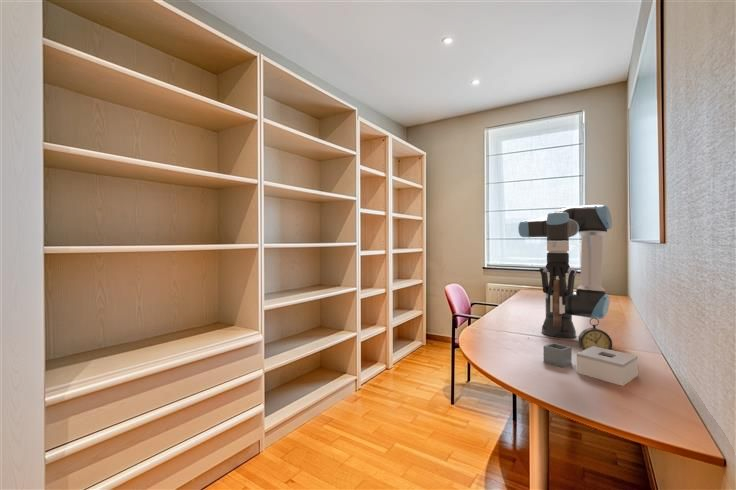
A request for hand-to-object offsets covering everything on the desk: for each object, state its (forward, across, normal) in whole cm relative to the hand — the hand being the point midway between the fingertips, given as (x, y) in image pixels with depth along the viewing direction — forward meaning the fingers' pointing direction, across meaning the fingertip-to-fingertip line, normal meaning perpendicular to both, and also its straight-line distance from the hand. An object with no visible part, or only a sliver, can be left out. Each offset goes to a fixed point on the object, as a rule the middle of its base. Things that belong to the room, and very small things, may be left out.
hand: (557, 312), depth 133 cm
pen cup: (+20, 0, 0) cm, 20 cm away
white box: (+20, +16, +2) cm, 25 cm away
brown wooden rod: (+5, 0, 0) cm, 5 cm away
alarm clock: (+20, +6, +18) cm, 27 cm away
